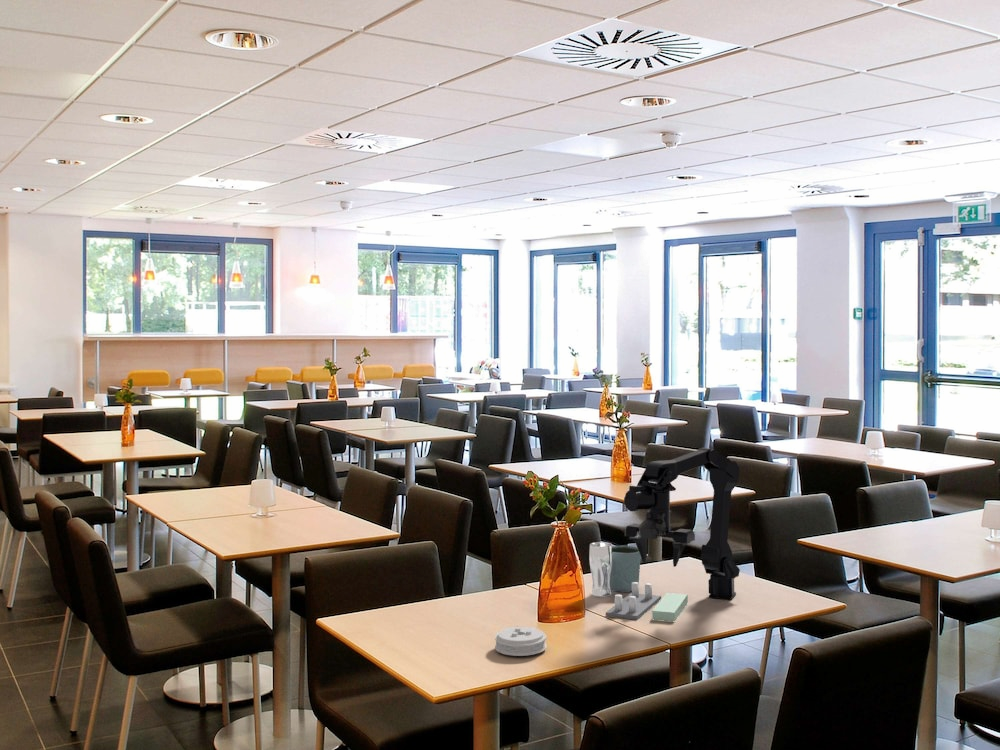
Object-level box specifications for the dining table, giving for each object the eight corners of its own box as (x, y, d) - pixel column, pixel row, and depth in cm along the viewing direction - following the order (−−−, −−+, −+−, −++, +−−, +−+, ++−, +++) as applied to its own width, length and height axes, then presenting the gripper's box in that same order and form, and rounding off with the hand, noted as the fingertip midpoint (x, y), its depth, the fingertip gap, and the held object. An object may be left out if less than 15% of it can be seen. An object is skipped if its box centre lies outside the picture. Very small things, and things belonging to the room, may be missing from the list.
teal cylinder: (605, 584, 284) (604, 546, 284) (637, 583, 285) (636, 544, 285) (612, 593, 274) (611, 553, 274) (645, 591, 275) (645, 551, 275)
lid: (553, 655, 222) (553, 635, 222) (503, 662, 219) (503, 641, 219) (537, 640, 235) (536, 620, 234) (489, 646, 231) (488, 626, 231)
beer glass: (615, 597, 270) (613, 546, 269) (591, 598, 270) (589, 547, 269) (612, 591, 277) (611, 541, 276) (589, 591, 277) (588, 542, 276)
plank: (687, 605, 262) (687, 594, 262) (674, 623, 245) (674, 612, 245) (666, 603, 264) (666, 592, 264) (652, 621, 247) (652, 610, 247)
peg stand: (660, 599, 267) (660, 582, 267) (637, 619, 248) (636, 601, 248) (631, 596, 271) (630, 579, 271) (605, 616, 252) (605, 597, 252)
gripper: (615, 508, 253) (615, 565, 254) (678, 515, 242) (678, 574, 243) (634, 503, 262) (634, 558, 263) (695, 509, 251) (695, 566, 252)
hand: (659, 564), depth 255 cm, fingers open, 9 cm apart
